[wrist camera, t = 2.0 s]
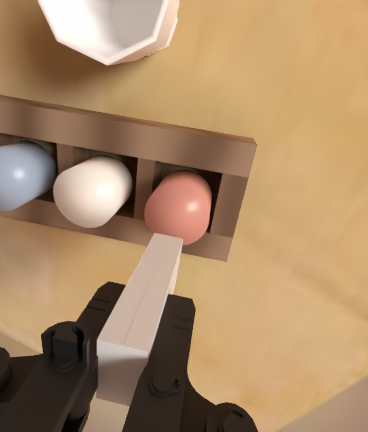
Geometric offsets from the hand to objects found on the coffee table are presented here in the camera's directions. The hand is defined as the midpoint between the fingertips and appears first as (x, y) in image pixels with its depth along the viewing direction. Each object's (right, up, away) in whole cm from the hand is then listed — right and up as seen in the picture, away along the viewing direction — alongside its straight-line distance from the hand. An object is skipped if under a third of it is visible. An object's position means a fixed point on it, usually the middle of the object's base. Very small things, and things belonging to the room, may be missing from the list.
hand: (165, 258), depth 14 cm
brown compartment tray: (-5, +6, +10) cm, 13 cm away
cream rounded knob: (-5, +5, +8) cm, 11 cm away
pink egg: (+1, +4, +7) cm, 8 cm away
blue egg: (-12, +6, +8) cm, 16 cm away
